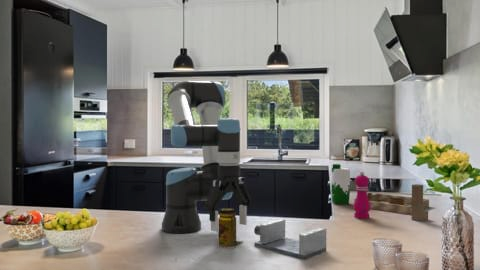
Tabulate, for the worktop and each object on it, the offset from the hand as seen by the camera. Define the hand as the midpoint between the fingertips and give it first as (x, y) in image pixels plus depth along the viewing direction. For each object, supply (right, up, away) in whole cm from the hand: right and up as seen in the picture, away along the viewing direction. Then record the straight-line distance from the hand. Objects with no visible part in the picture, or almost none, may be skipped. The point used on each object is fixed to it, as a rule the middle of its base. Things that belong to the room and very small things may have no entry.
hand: (229, 227), depth 140 cm
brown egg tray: (+79, -4, +66) cm, 103 cm away
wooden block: (+80, -5, +37) cm, 89 cm away
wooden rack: (+79, -5, +67) cm, 103 cm away
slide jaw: (+13, -4, +2) cm, 13 cm away
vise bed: (+20, -6, -5) cm, 21 cm away
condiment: (0, -6, +1) cm, 6 cm away
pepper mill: (+57, -5, +42) cm, 71 cm away
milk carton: (+55, -4, +75) cm, 93 cm away
